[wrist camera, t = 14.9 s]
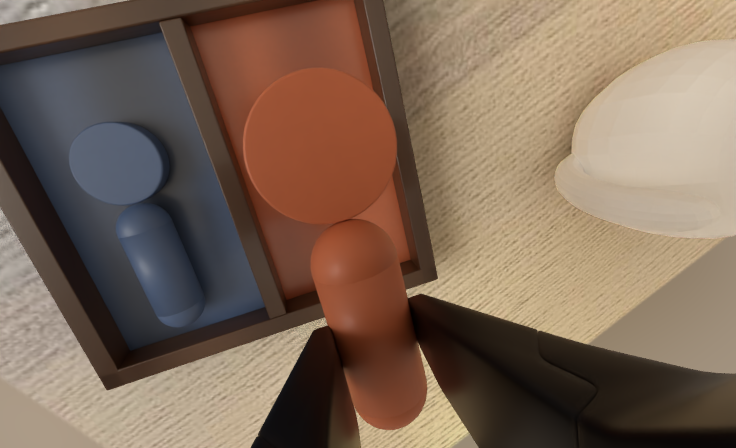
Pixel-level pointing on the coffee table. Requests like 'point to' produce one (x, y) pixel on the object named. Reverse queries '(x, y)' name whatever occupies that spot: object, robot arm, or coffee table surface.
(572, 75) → the coffee table surface
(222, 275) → the cutlery tray
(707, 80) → the cat figurine
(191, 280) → the blue spoon
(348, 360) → the terracotta spoon
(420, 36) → the coffee table surface
